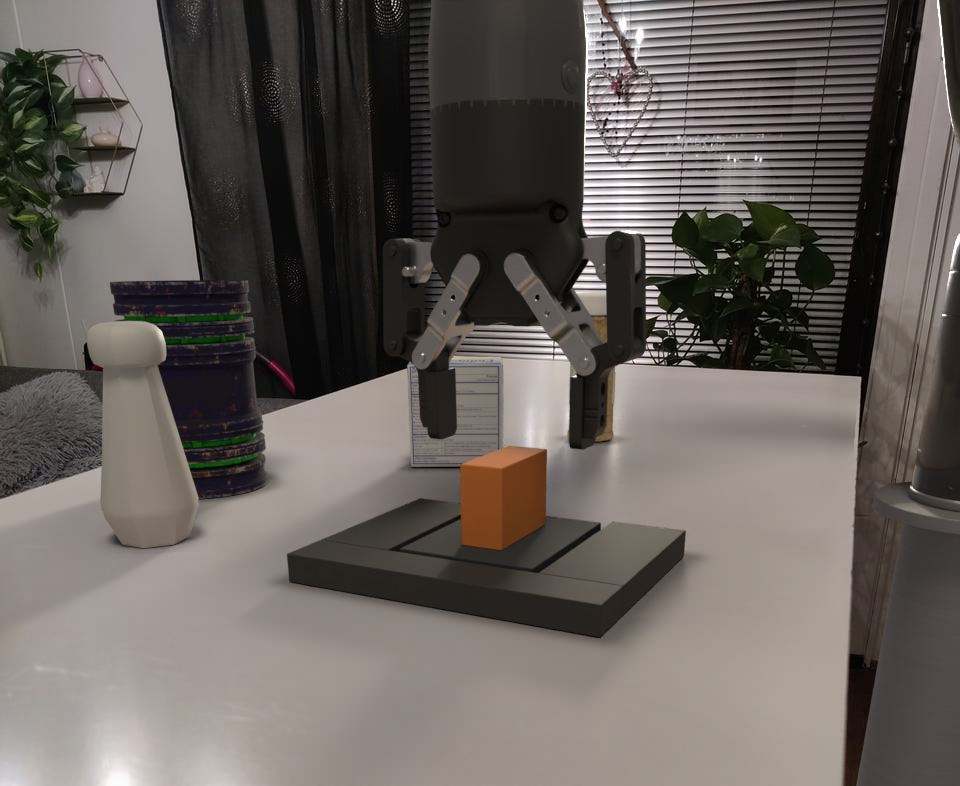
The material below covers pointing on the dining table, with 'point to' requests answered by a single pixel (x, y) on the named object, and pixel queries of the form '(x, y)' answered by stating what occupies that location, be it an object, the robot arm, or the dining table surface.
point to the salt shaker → (140, 439)
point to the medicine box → (462, 415)
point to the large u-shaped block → (492, 571)
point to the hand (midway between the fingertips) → (509, 441)
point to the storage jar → (206, 376)
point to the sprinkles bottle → (598, 312)
